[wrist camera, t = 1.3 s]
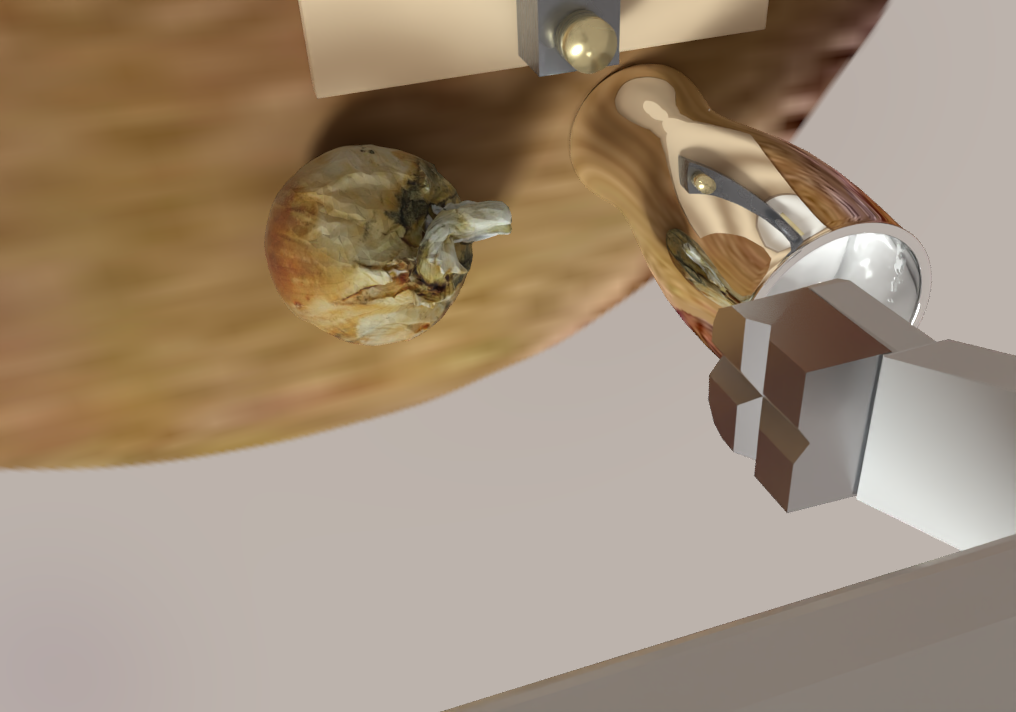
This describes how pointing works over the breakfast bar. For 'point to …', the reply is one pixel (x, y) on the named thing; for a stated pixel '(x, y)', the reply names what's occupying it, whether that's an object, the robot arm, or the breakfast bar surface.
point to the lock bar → (568, 35)
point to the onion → (374, 243)
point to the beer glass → (733, 204)
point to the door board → (476, 36)
